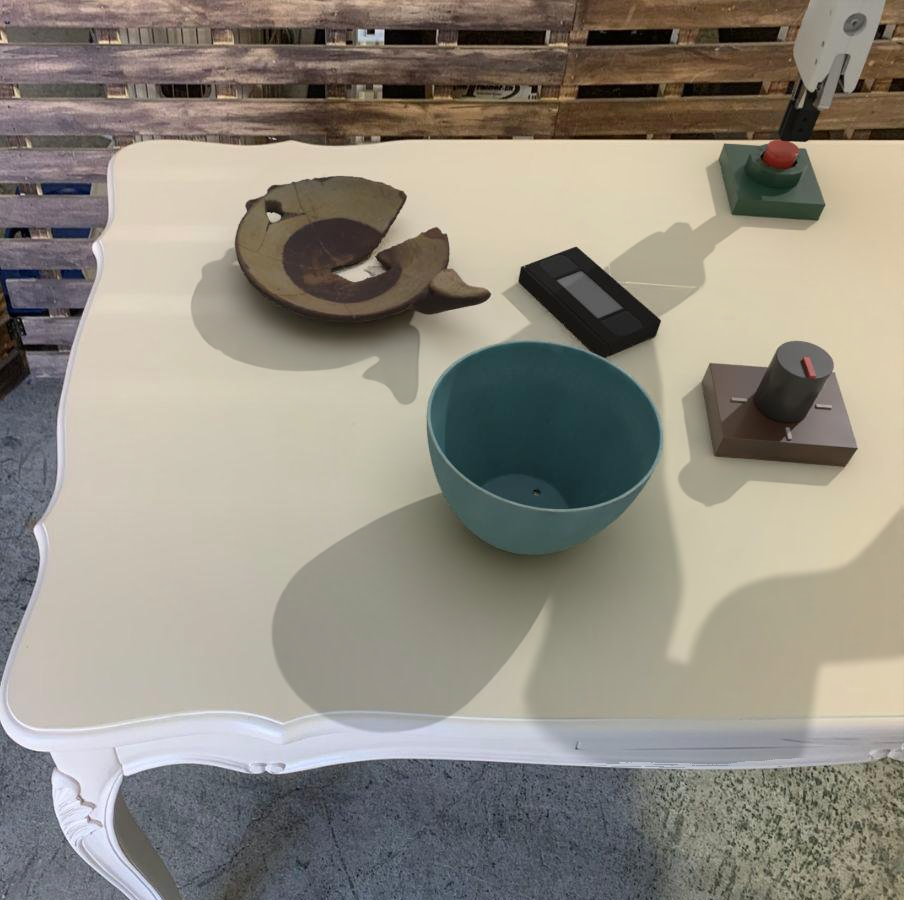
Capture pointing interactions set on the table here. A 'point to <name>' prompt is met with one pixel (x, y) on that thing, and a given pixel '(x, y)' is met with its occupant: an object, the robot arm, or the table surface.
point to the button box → (769, 185)
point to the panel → (774, 421)
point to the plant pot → (540, 443)
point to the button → (780, 154)
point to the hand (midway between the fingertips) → (792, 137)
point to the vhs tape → (589, 302)
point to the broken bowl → (344, 253)
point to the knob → (793, 381)
